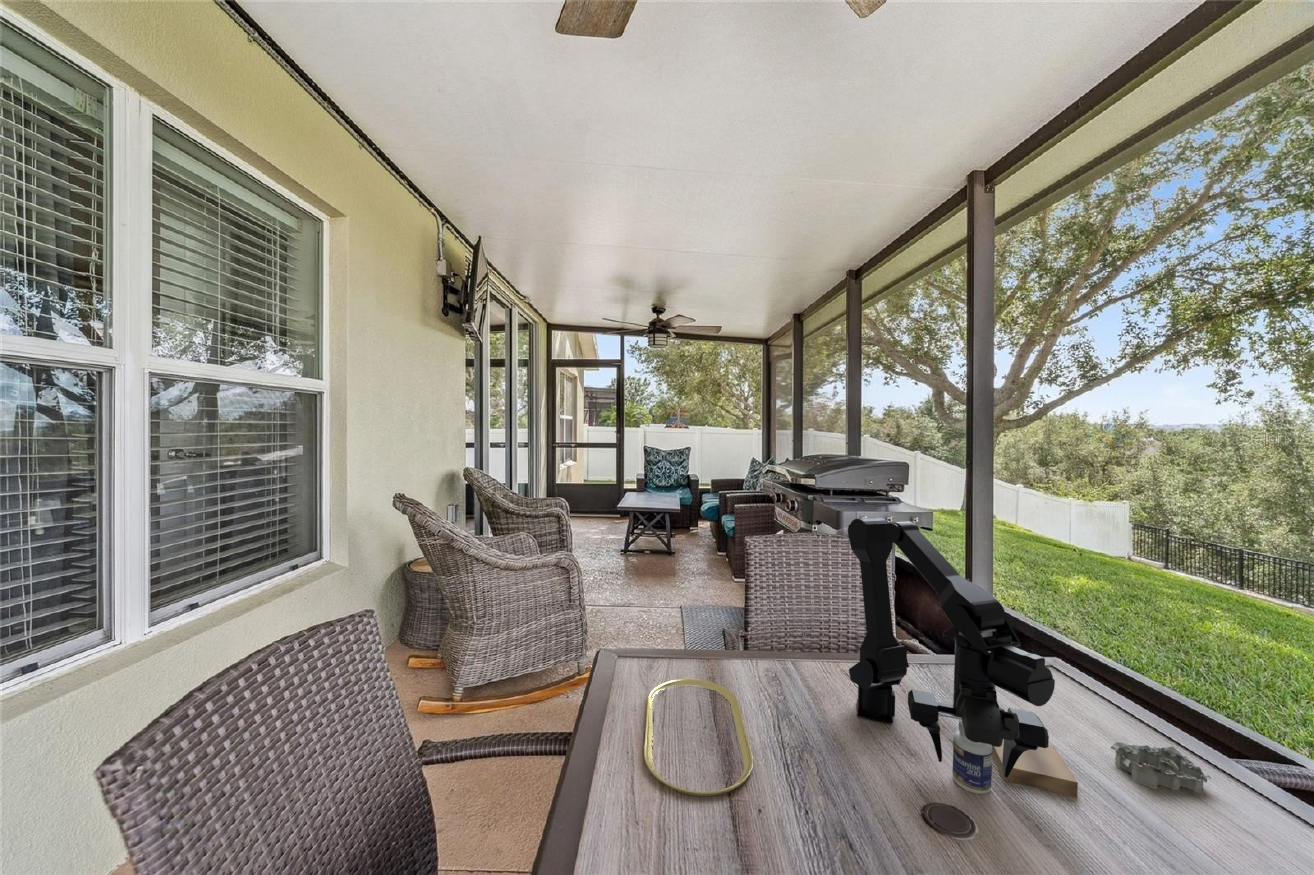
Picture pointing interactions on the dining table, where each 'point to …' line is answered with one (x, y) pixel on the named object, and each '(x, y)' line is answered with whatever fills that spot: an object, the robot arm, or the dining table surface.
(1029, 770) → the tan slab
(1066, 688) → the dining table surface
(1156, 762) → the egg carton
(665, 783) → the oval ring
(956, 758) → the pill bottle
